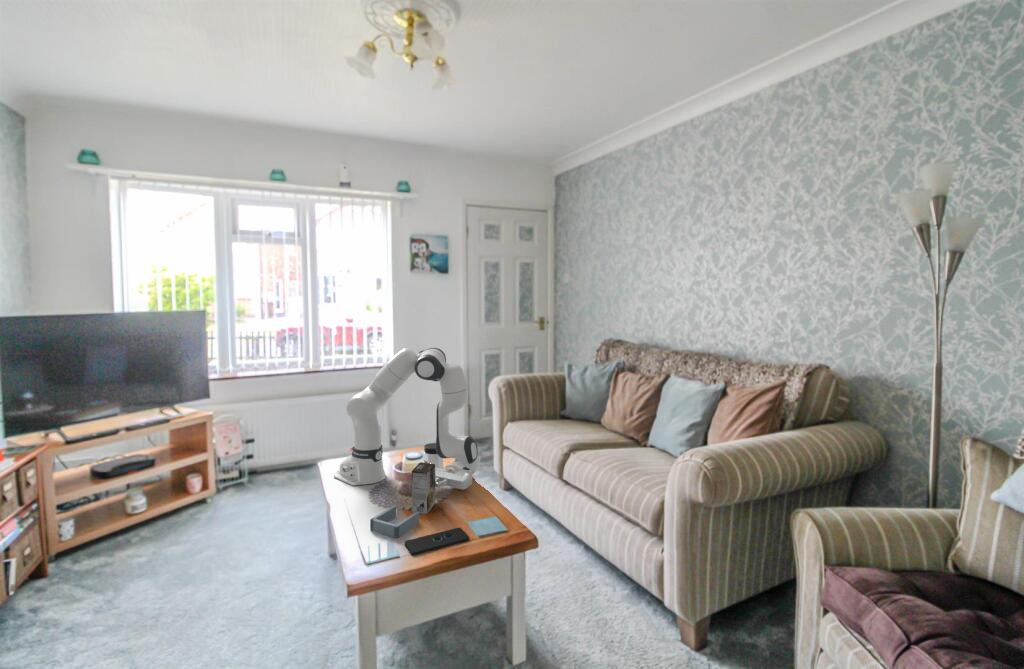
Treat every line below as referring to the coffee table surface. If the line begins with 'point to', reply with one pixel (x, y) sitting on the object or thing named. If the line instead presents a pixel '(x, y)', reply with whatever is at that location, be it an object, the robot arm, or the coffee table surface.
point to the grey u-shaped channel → (389, 529)
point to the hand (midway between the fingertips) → (435, 485)
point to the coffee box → (423, 487)
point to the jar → (432, 455)
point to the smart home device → (436, 541)
